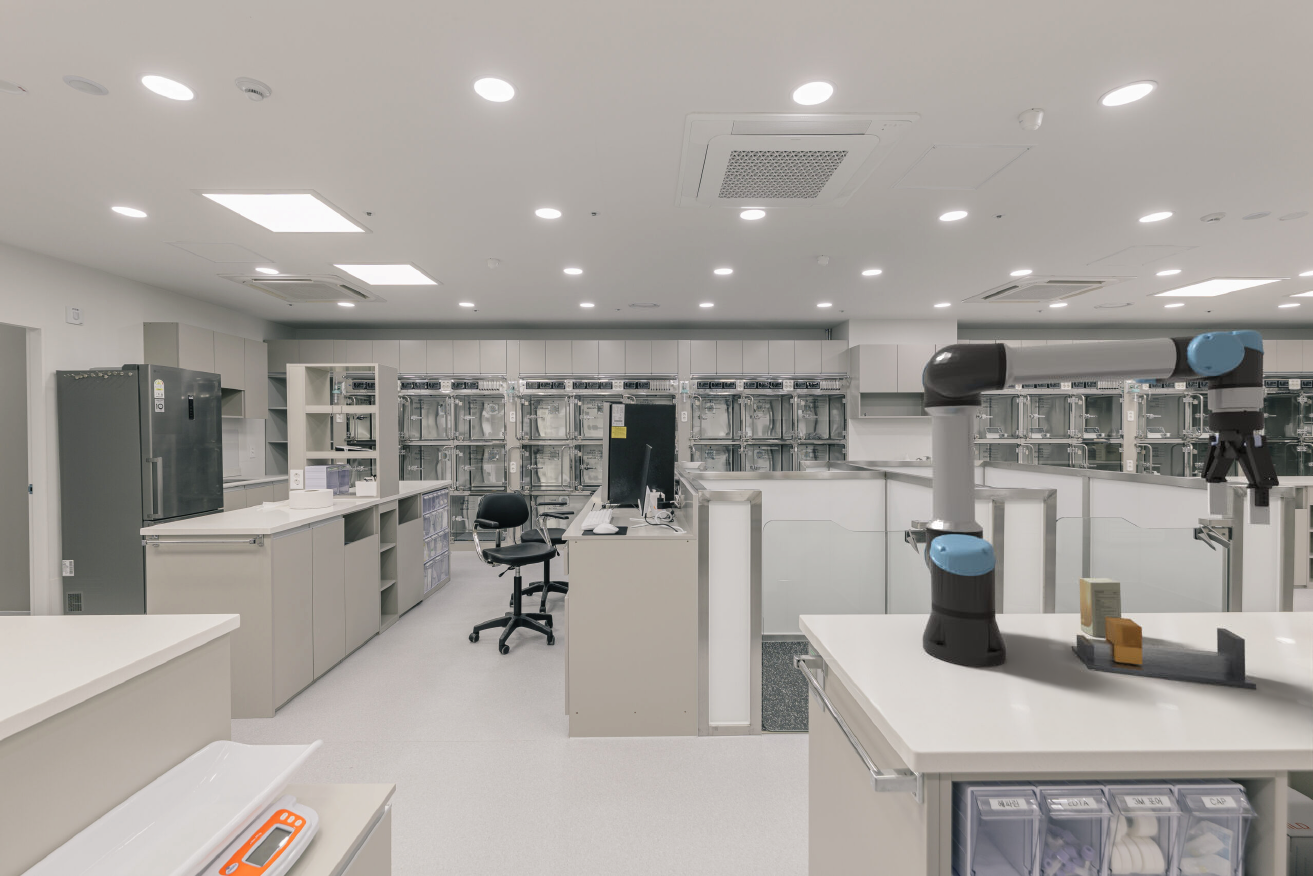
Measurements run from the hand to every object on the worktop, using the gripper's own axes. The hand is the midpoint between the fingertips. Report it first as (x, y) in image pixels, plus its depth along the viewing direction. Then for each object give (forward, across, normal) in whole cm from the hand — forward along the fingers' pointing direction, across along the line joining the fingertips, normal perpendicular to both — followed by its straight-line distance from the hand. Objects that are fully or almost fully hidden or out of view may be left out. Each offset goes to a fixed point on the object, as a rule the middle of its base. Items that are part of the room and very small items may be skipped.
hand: (1236, 519), depth 108 cm
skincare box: (+28, +10, +19) cm, 35 cm away
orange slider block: (+27, -9, +21) cm, 35 cm away
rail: (+28, -9, +16) cm, 34 cm away
